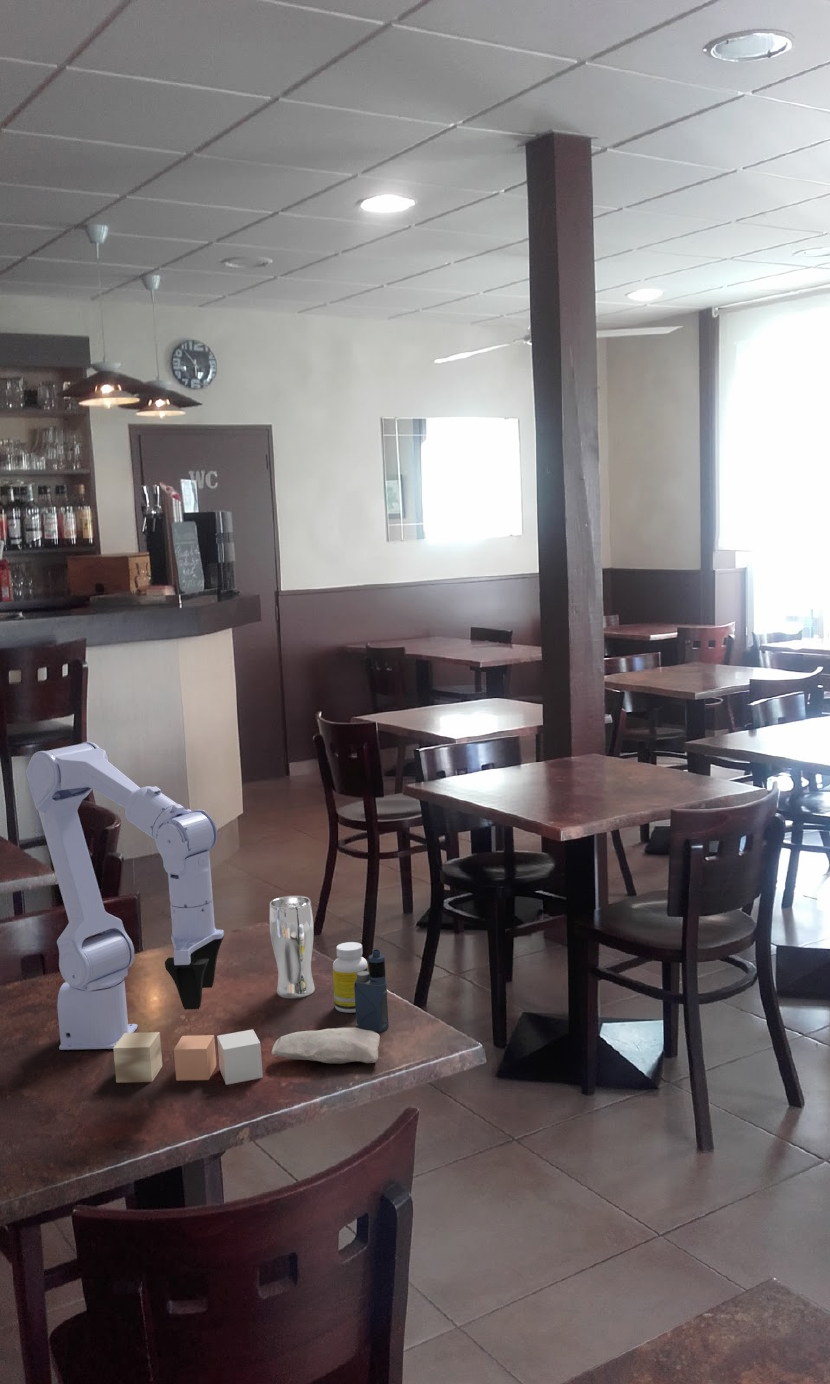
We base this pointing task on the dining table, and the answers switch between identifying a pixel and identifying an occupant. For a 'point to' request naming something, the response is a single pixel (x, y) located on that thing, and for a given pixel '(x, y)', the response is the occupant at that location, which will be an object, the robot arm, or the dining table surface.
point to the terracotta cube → (195, 1057)
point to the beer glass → (292, 945)
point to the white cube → (239, 1056)
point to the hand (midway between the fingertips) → (198, 997)
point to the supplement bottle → (347, 975)
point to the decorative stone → (329, 1045)
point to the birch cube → (138, 1057)
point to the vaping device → (372, 995)
